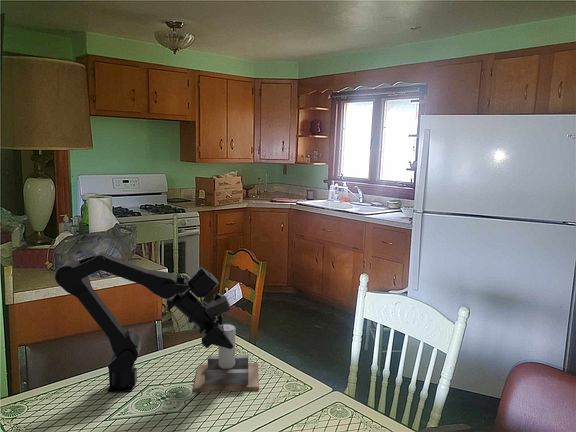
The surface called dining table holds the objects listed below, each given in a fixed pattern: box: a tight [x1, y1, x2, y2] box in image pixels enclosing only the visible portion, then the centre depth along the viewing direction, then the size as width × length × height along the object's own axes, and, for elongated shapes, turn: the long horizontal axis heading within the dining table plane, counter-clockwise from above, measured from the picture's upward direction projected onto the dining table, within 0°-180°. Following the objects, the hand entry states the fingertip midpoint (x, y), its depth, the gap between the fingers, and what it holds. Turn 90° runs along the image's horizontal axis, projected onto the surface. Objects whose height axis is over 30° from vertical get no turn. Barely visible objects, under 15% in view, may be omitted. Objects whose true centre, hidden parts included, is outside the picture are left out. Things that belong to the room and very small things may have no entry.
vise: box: [193, 354, 260, 393], centre depth 136 cm, size 18×15×4 cm
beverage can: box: [218, 323, 237, 369], centre depth 134 cm, size 5×5×12 cm
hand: (231, 343), depth 134 cm, fingers closed on beverage can, 5 cm apart
